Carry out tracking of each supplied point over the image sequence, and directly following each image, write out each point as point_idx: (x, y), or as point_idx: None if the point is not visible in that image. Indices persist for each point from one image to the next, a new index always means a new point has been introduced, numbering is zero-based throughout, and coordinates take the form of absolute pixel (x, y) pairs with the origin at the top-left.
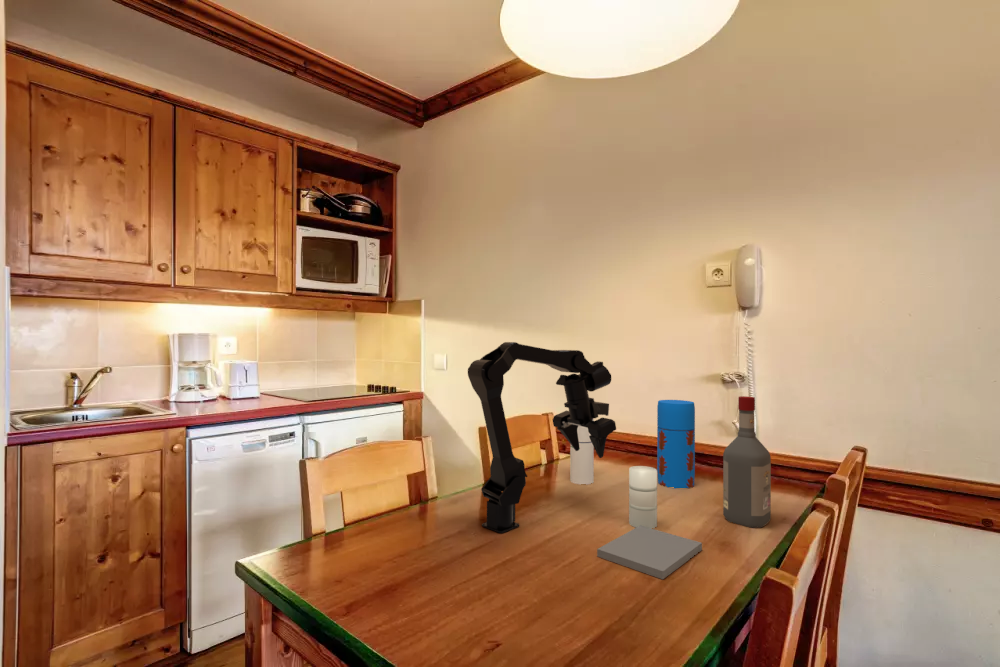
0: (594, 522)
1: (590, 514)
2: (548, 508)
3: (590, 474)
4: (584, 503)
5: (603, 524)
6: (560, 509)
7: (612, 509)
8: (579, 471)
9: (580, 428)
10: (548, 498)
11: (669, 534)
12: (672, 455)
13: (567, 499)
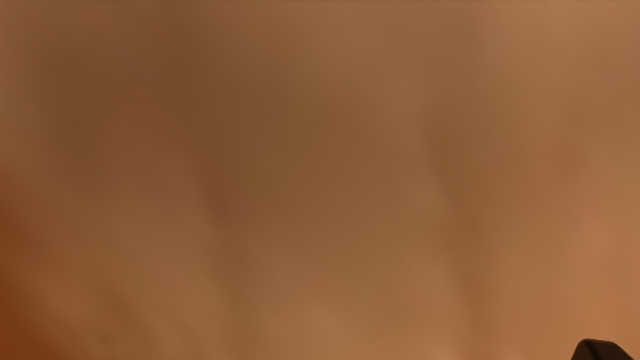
0: (531, 319)
1: (421, 233)
2: (173, 354)
3: None
4: (236, 93)
5: (591, 304)
6: (231, 311)
7: (458, 28)
8: None
9: None
10: (9, 218)
11: None
12: None
13: (97, 126)
